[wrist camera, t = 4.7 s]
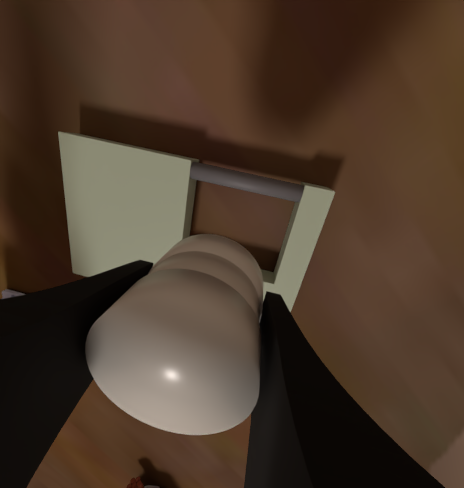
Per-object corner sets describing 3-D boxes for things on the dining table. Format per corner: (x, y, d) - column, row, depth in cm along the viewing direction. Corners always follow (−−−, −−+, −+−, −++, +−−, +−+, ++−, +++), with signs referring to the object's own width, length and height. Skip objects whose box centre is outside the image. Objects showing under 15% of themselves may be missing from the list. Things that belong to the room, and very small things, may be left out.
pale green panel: (88, 263, 23) (72, 273, 21) (79, 133, 18) (58, 131, 16) (283, 313, 22) (284, 327, 20) (328, 187, 17) (335, 191, 15)
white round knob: (157, 309, 12) (87, 405, 7) (167, 221, 10) (81, 277, 5) (248, 335, 12) (235, 453, 7) (277, 250, 10) (284, 336, 5)
